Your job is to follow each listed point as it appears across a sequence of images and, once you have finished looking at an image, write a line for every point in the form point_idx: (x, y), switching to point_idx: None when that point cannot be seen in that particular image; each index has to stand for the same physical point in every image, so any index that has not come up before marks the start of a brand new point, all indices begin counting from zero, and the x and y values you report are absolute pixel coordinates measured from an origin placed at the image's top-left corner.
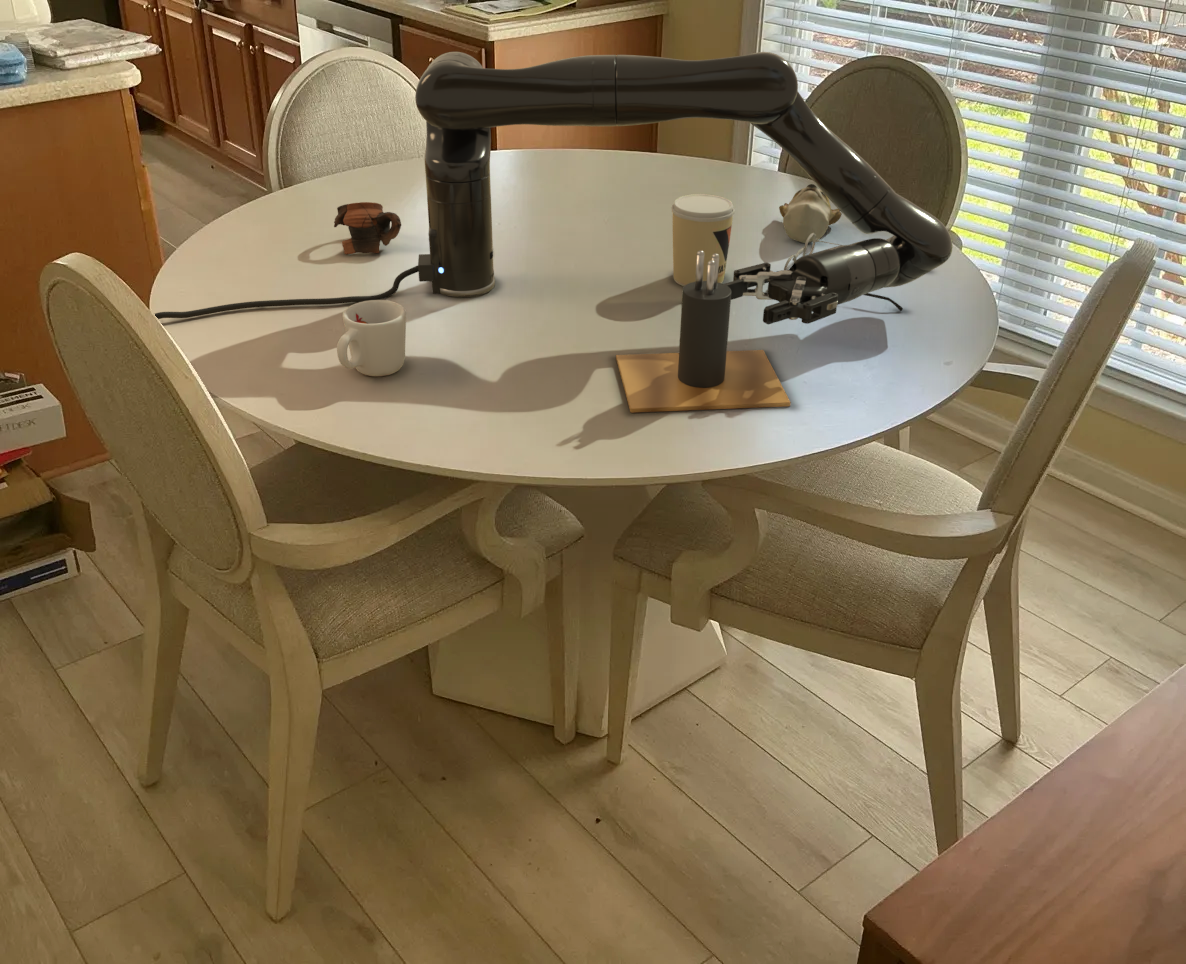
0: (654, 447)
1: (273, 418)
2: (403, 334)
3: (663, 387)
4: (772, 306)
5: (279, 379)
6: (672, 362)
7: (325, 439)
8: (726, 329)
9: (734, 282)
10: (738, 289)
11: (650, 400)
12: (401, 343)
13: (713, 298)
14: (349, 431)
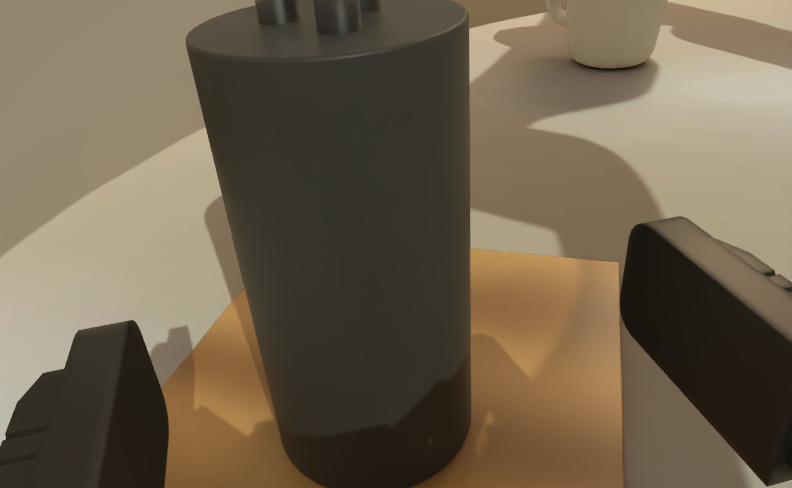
0: (122, 244)
1: (482, 27)
2: (598, 2)
3: None
4: (82, 357)
5: None
6: (532, 370)
7: None
8: (242, 250)
9: (741, 286)
10: (740, 377)
11: None
12: (591, 16)
13: (210, 21)
14: None
